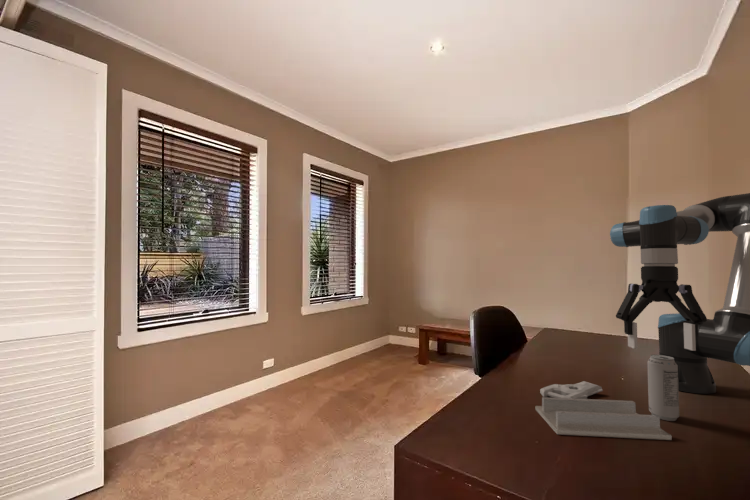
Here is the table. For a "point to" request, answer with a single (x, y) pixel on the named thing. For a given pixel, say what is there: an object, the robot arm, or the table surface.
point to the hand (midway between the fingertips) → (661, 348)
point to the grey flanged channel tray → (599, 418)
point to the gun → (571, 390)
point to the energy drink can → (663, 387)
